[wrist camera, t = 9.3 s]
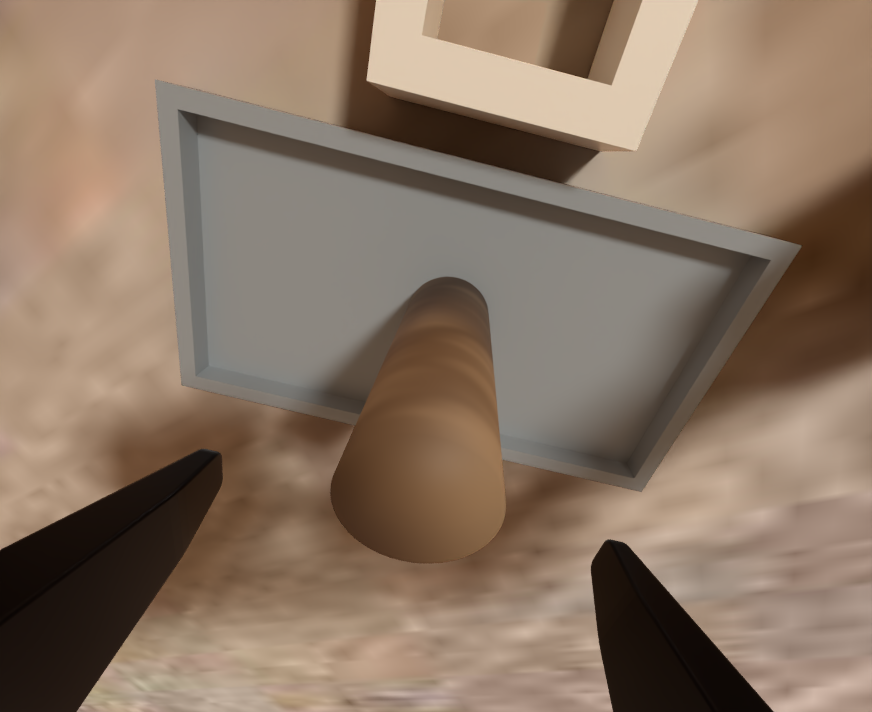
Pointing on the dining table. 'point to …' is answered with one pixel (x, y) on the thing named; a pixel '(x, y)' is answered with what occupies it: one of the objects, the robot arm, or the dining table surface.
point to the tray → (445, 257)
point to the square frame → (534, 73)
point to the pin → (428, 436)
